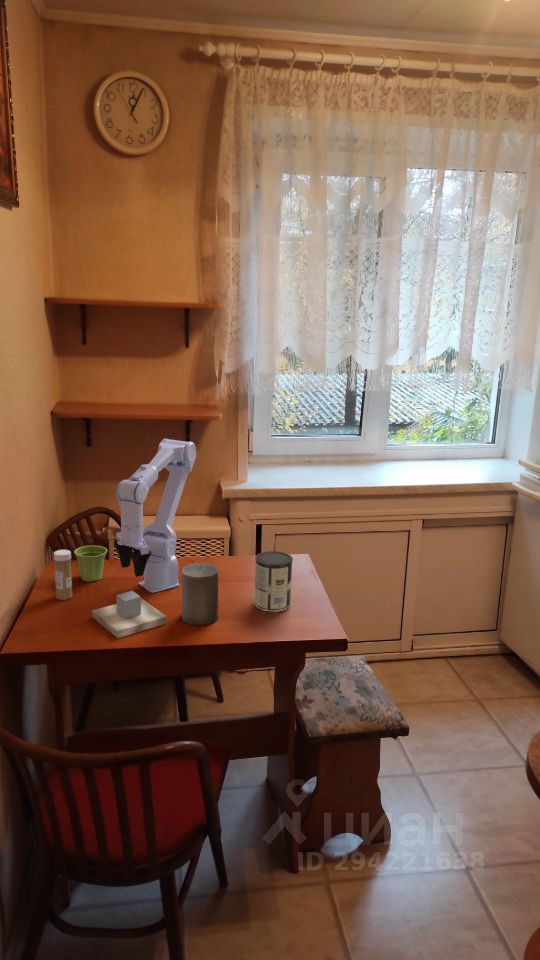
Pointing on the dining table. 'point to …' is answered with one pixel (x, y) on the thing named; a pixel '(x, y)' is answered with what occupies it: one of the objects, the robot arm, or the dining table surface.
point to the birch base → (129, 619)
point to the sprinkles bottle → (63, 574)
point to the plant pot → (91, 562)
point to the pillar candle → (200, 594)
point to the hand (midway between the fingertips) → (132, 571)
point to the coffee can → (273, 581)
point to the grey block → (128, 604)
